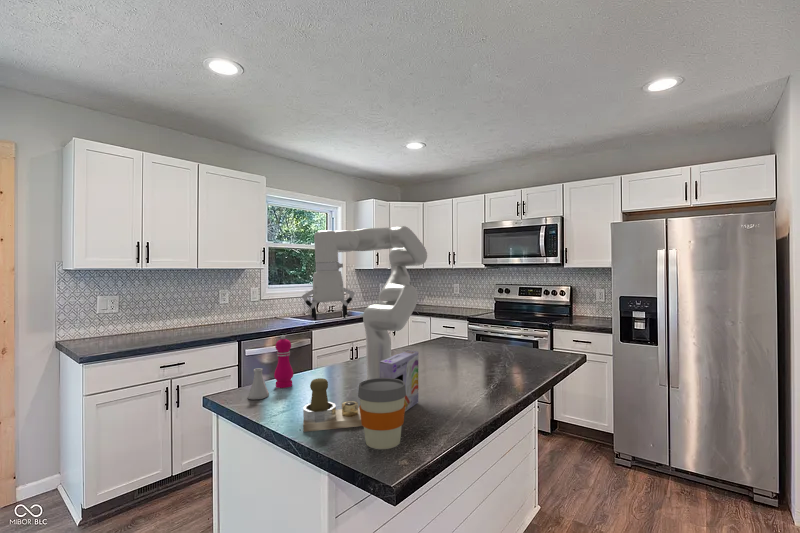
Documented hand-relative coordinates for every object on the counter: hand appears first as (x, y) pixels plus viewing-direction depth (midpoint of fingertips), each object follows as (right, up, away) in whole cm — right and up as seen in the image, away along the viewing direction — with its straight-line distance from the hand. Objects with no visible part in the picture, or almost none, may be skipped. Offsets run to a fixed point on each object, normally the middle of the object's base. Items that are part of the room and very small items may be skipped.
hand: (329, 318), depth 135 cm
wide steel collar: (0, -27, -17) cm, 32 cm away
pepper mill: (-22, -30, +23) cm, 44 cm away
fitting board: (+4, -29, -16) cm, 33 cm away
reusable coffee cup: (+19, -28, -30) cm, 46 cm away
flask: (-27, -30, +10) cm, 42 cm away
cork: (0, -27, -17) cm, 32 cm away
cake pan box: (+24, -29, -8) cm, 38 cm away
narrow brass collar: (+9, -27, -15) cm, 32 cm away
